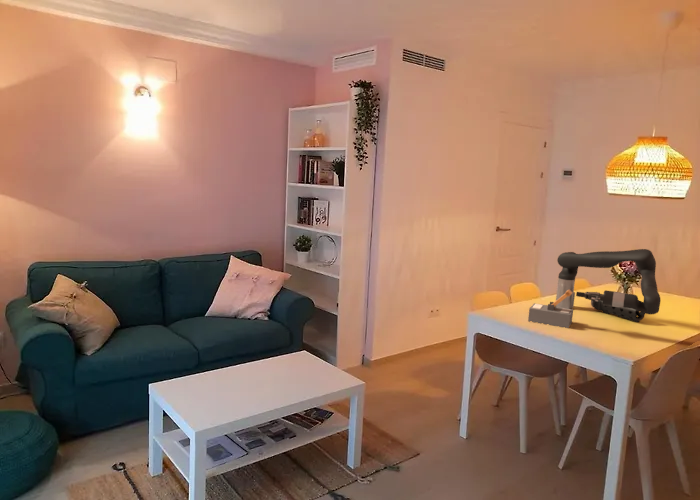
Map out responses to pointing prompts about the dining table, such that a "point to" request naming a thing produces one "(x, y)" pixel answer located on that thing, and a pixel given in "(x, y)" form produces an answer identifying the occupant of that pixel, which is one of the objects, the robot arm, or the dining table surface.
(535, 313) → the breaker housing
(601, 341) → the dining table surface
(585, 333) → the dining table surface
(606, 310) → the muzzle brake
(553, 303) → the lever
